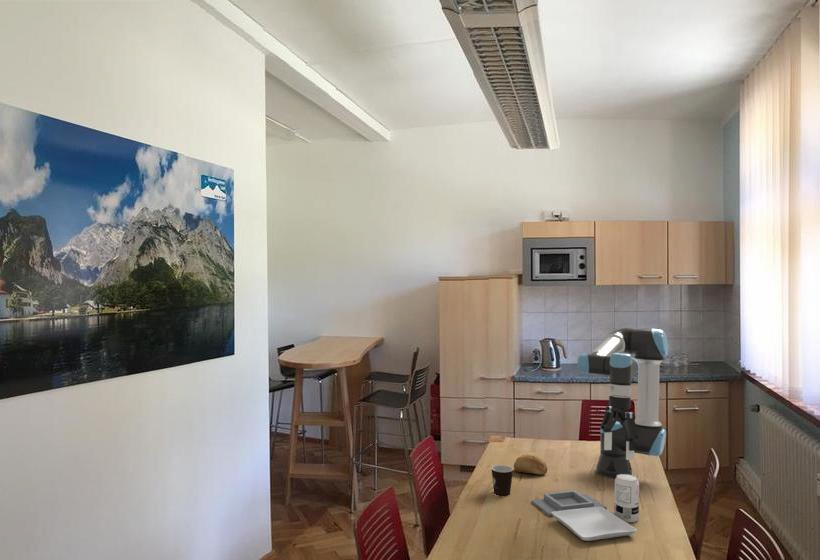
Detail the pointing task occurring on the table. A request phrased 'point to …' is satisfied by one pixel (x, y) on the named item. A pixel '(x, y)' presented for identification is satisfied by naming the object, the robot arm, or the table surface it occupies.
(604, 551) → the table surface
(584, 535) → the salad plate
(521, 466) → the bread roll
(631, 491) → the supplement can
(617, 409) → the robot arm
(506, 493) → the coffee mug
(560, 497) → the dock
